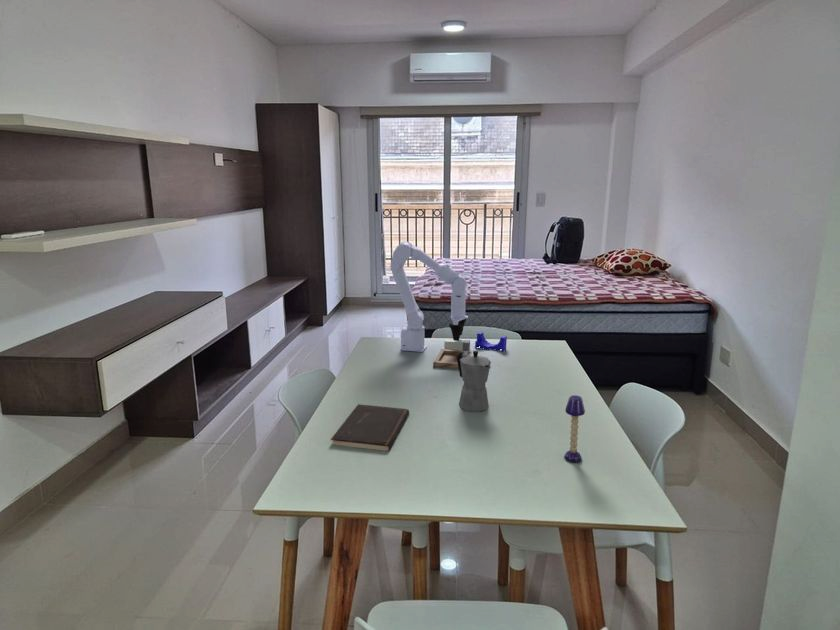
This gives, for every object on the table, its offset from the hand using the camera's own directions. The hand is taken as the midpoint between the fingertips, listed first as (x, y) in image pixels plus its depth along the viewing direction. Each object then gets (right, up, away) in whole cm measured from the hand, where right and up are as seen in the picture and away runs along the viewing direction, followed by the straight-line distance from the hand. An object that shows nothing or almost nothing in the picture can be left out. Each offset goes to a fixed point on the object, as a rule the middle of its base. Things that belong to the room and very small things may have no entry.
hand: (457, 337), depth 220 cm
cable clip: (+14, -5, +4) cm, 15 cm away
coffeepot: (+1, -19, -52) cm, 55 cm away
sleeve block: (0, -5, +1) cm, 5 cm away
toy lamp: (+23, -27, -84) cm, 91 cm away
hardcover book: (-29, -24, -68) cm, 78 cm away
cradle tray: (-3, -9, -12) cm, 15 cm away
